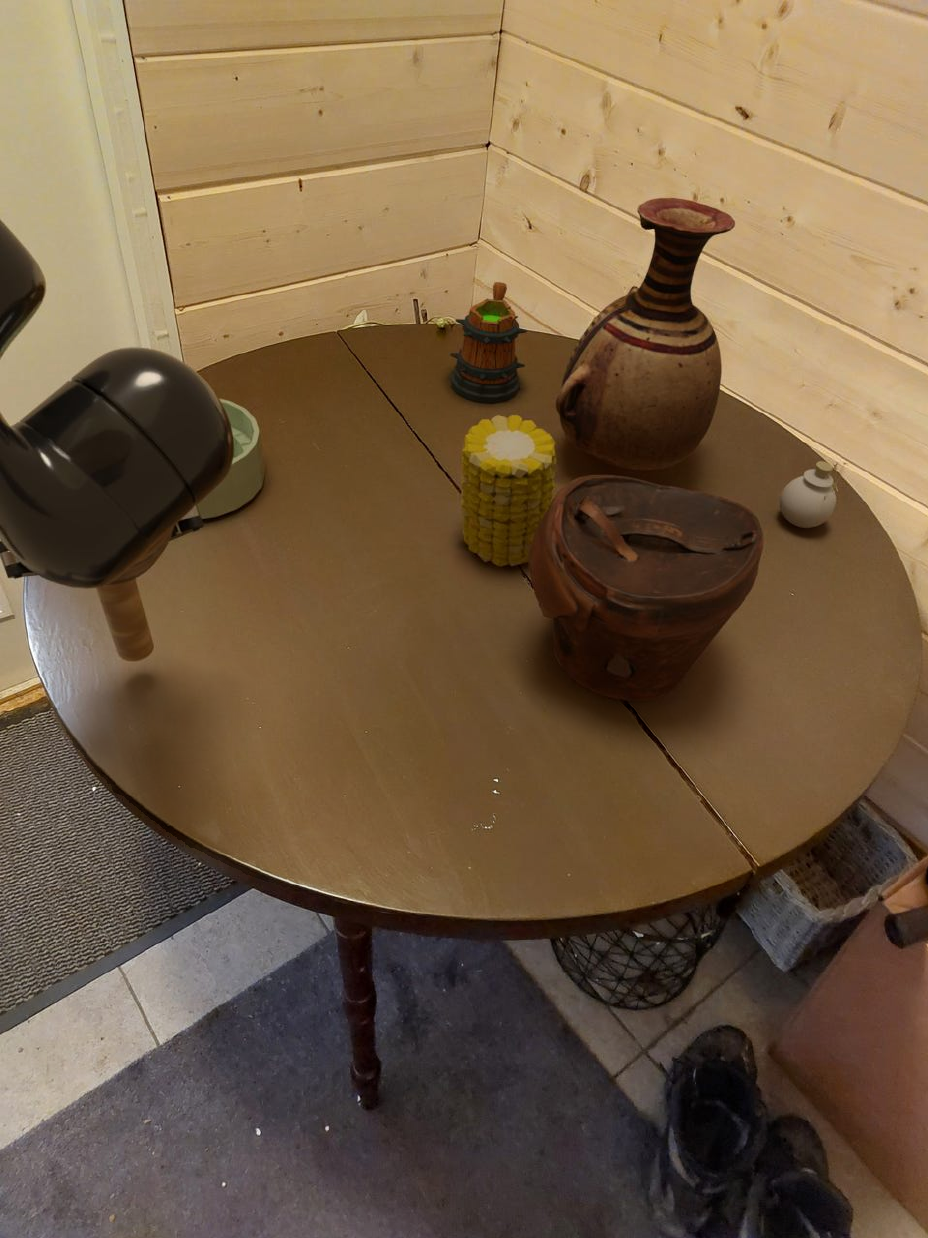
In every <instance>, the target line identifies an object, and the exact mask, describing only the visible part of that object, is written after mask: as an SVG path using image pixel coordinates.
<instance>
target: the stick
mask: <svg viewBox="0 0 928 1238" xmlns="http://www.w3.org/2000/svg"><path fill="white" fill-rule="evenodd" d="M95 589H96V592H97V595H98V598H99V602H100V604H101V607H102V610H103V613H104V616H105V619H106V623H107V625H108V629H109V631H110V634H111V638H112V640H113V643H114V647H115V649H116V650H115V651H116V653H117V656H118V657H119V658H120V659H122V660H123V661H126V662H131V663H132V662H139V661H142V660H145V659H146V658H148V657H149V656H150V655H151V654H152V653H153V651H154V648H155V647H154V646H155V644H154V641H153V636H152V633H151V630H150V626H149V623H148V619H147V615H146V612H145V607H144V604H143V601H142V598H141V594H140V593H141V592H140V590H139V586H138V583H137V578H135V579H133V580H131V581H128V582H125V583H121V584H115V585H104V586H101V587H98V588H95Z"/></svg>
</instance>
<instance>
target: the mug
mask: <svg viewBox="0 0 928 1238" xmlns="http://www.w3.org/2000/svg"><path fill="white" fill-rule="evenodd" d="M507 289H508V287H507V284H506V283H504V282H499V281H496V282H493V285H492V298H493V299H492V298H486V299H484V300H483V301H481V302H479V303H477V304H474V305H472V306H471V308H470V309H469V310H468V314H466V315H465V317H464V319H463V318H462V319H459V318H456V319H455V322H456V323H457V324H459V325H462V329H461V330H462V331H463V332H464V333H463V334H462V335H463V341H462V347H461V349H459V351H458V353H456V352H455V353H454V352H451V353H450V355H449V356H450V357H452V358H454V359H456V364H455V366H454V368H453V371H451V373H450V387H451V388H452V390H453V391H454V392H455V394H456V395H459V396H461V397H462V398H464V399H465V400H469V401H472V402H476V403H480V404H498V403H503V402H507V401H509V400H511V399H512V398H515V397H516V396H517V394H518V393H519V391H520V387H521V381H520V376H519V374H518V369H520V368H525V367H526V364H524V363H521V362H518V360H519V358H518V357H517V355H516V339H518V337H519V334H525V333H527V332H528V330H527V329H524V328H520V324H519V322H518V320H517V319H518V318H519V316H518V315H516V312H515V311H514V309H512V307H511V306H510V304H509V303H508V302H507V301H506V300H505V299H504V298H505V296H506V293H507Z"/></svg>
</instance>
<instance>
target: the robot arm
mask: <svg viewBox="0 0 928 1238" xmlns="http://www.w3.org/2000/svg"><path fill="white" fill-rule="evenodd" d="M46 292H47V282H46V276H45V275H44V272H43V270H42V268H41V267H40V265H39V263H38V262H37V260H36V259H35V258H34V257H33V255H32V254H31V252H30V251H29V250H28V248H27V247H26V246H25V245H24V244H23V243H22V241H21V240H20V239H19V237H17V235H15V233H14V232H13V230H11V229H10V228H9V226H7V224H6V223H5V222H4V221H3V220H2V219H1V218H0V360H1V359H2V358H3V356H4V355H5V353H6V352H7V350H8V349H9V347H10V346H11V345H12V343H13V342H14V341H15V340H16V338H17V337H18V336H19V335H20V334H21V332H23V330H24V329H25V328H26V327H27V325H28V324H29V323H30V321H31V320H32V318H33V317H34V316H35V314H36V313H37V312H38V311H39V309H40V307H41V306H42V304H43V302H44V299H45V297H46ZM220 399H221V398H219V396H218V395H217V393H216V392H215V391H214V389H213V387H212V386H210V384H209V383H208V382H207V381H206V380H205V379H204V378H203V377H202V376H201V375H200V373H198V372H197V371H196V370H195V369H194V368H192V367H191V366H190V365H188V364H187V363H185V362H184V361H182V360H180V359H179V358H176V357H175V356H173V355H171V354H169V353H166V352H163V351H161V350H158V349H155V348H149V347H140V346H127V347H121V348H117V349H113V350H110V351H107V352H105V353H103V354H101V355H100V356H99V357H97V358H95V359H93V360H92V361H91V362H89V363H88V364H87V365H86V366H84V367H83V368H82V369H80V370H79V371H78V372H77V373H75V375H73V376H72V377H71V380H67V381H66V382H65V383H64V384H62V385H61V386H60V387H59V388H57V389H56V390H55V391H54V392H53V393H52V394H50V395H49V396H47V398H45V399H44V400H43V401H42V402H40V403H39V404H38V405H37V406H36V407H34V409H32V410H31V411H29V412H28V413H27V414H26V415H25V416H23V417H22V418H21V419H20V420H19V421H17V422H15V423H14V424H12V425H10V423H9V422H8V421H7V420H6V419H5V416H4V415H3V413H2V412H1V411H0V561H1V563H2V566H3V568H4V572H5V574H6V576H7V579H14V580H16V579H20V578H25V577H36V576H37V577H38V576H39V577H41V578H42V579H44V580H47V581H49V582H51V583H54V584H57V585H61V586H65V587H68V588H72V589H85V590H89V589H96V588H98V587H101V586H104V585H115V584H121V583H125V582H128V581H131V580H133V579H137V578H139V577H140V576H142V575H144V574H145V573H147V572H148V571H149V570H150V569H151V568H152V567H153V566H154V565H155V563H156V562H157V561H158V559H159V558H160V557H161V555H162V554H163V553H164V552H165V550H166V549H167V547H168V545H169V544H170V543H169V542H171V541H174V540H176V539H179V538H180V537H183V536H185V535H187V534H190V533H193V532H197V531H200V530H201V529H202V528H204V527H205V525H204V520H203V519H202V518H201V517H200V516H201V515H200V512H199V509H198V506H197V505H198V504H199V503H200V502H201V501H202V500H203V499H204V498H205V497H206V496H207V495H208V494H209V493H210V492H211V491H212V490H213V489H215V488H216V487H217V486H218V485H219V484H220V483H221V482H222V481H223V480H224V478H225V477H226V476H227V474H228V473H229V470H230V468H231V465H232V461H233V456H234V439H233V433H232V428H231V424H230V421H229V418H228V416H227V413H226V411H225V409H224V407H223V405H222V403H221V401H220Z"/></svg>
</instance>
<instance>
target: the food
mask: <svg viewBox="0 0 928 1238" xmlns="http://www.w3.org/2000/svg"><path fill="white" fill-rule="evenodd" d="M556 444H557V443H556V442H555V440H554V438H553V437H552V436H551V434H550V433H548V432H547V431H545V430H544V429H543V428H538V427H537V425H536V424H535V422H534V421H533V420H531V419H530V420H529V419H528V420H526V419H525V420H523V418H522V417H521V416H520V415H518V414H517V415H516V414H510V415H509V416H508V417H506V416H503V415H500V414H497V415H495V416H493V417H492V418H491V419H489V418H488V419H486V418H485V419H483V418H482V419H481V420H480V421H479V422H478V424H477V425H472V426H471V427H470V428H469V430H468V431H467V434H465V435H464V439H463V443H462V449H461V455H462V458H461V459H462V460H461V464H462V465H461V470H462V474H461V476H460V480H461V481H462V482H461V489H462V490H461V493H460V496H461V498H462V499H461V508H462V509H461V511H462V512H461V514H462V522H461V527H462V535H463V542H464V543H465V544H466V545H467V546H468V550H469V551H470V552H471V553H473V554H477V556H479V558H480V559H481V560H482V561H483V562H484V563H488V562H490V561H491V562H492V564H493V565H495V566H497V567H500V568H503V567H505V566H507V565H509V566H511V567H515V566H517V565H521V564H526V563H529V554H530V548H531V545H532V540H533V537H534V534H535V531H536V529H537V527H538V525H539V523H540V522H541V520H542V519H543V517H544V515H545V514H546V512H547V510H548V509H549V507H550V505H551V503H552V501H553V499H554V493H553V490H554V488H555V482H554V480H555V475H556V472H555V471H554V470H555V466H556V465H557V459H556V450H555V446H556Z"/></svg>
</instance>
